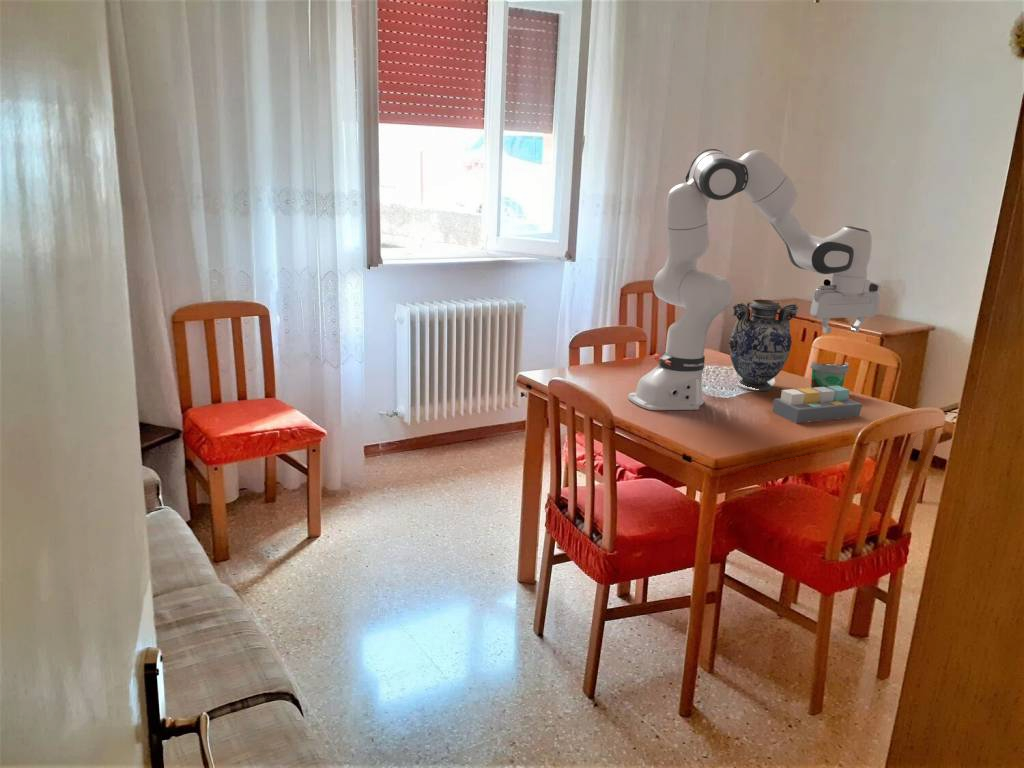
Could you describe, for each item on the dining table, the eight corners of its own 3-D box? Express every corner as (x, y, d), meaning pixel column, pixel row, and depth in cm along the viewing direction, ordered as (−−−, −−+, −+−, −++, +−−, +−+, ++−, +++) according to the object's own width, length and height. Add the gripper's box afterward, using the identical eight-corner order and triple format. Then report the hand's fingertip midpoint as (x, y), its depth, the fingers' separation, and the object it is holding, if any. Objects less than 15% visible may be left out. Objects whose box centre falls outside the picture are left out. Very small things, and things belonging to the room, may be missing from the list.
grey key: (821, 403, 216) (823, 392, 215) (810, 398, 220) (812, 387, 219) (833, 402, 218) (835, 391, 217) (822, 397, 222) (824, 386, 221)
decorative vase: (734, 394, 232) (746, 305, 224) (711, 378, 250) (722, 295, 242) (798, 395, 235) (813, 307, 227) (771, 379, 253) (784, 297, 245)
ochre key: (805, 404, 214) (807, 393, 213) (795, 400, 218) (797, 388, 217) (818, 403, 216) (820, 392, 215) (807, 399, 220) (809, 387, 219)
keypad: (796, 423, 209) (798, 409, 208) (772, 411, 218) (774, 398, 217) (859, 416, 217) (862, 403, 216) (834, 406, 226) (836, 392, 225)
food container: (816, 397, 234) (822, 366, 231) (806, 391, 240) (811, 361, 237) (852, 397, 236) (858, 366, 233) (841, 391, 242) (847, 361, 239)
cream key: (790, 406, 212) (792, 394, 211) (780, 401, 216) (781, 390, 215) (802, 405, 214) (804, 393, 213) (792, 400, 218) (794, 389, 217)
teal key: (835, 402, 218) (838, 390, 217) (825, 397, 222) (826, 386, 221) (847, 401, 220) (849, 389, 219) (836, 396, 224) (838, 385, 223)
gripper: (823, 287, 207) (816, 336, 211) (886, 285, 212) (877, 333, 216) (809, 283, 213) (802, 331, 217) (870, 281, 218) (863, 328, 222)
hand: (840, 332), depth 217 cm, fingers open, 8 cm apart
